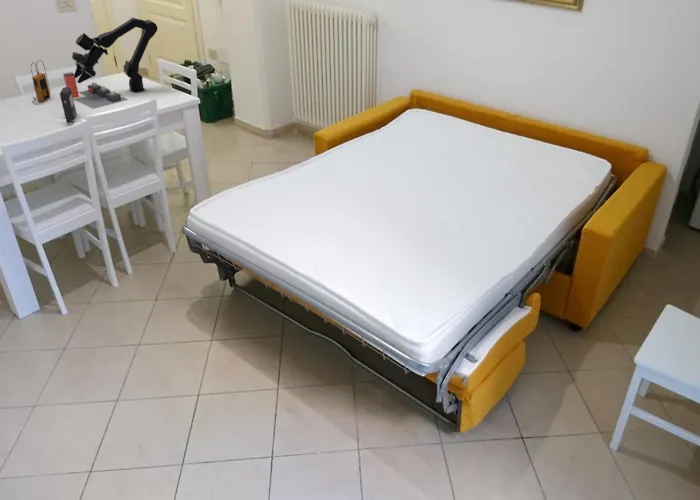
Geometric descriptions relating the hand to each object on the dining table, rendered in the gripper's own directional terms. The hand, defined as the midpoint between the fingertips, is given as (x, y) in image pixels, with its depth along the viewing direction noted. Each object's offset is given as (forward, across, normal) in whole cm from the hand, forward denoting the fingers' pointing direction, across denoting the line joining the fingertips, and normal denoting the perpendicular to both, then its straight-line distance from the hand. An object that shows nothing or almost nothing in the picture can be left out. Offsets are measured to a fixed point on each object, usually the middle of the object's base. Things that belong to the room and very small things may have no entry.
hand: (76, 80), depth 306 cm
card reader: (+14, +29, 0) cm, 33 cm away
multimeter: (+20, -9, -7) cm, 23 cm away
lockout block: (+8, 0, +4) cm, 9 cm away
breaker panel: (+3, +7, +11) cm, 13 cm away
